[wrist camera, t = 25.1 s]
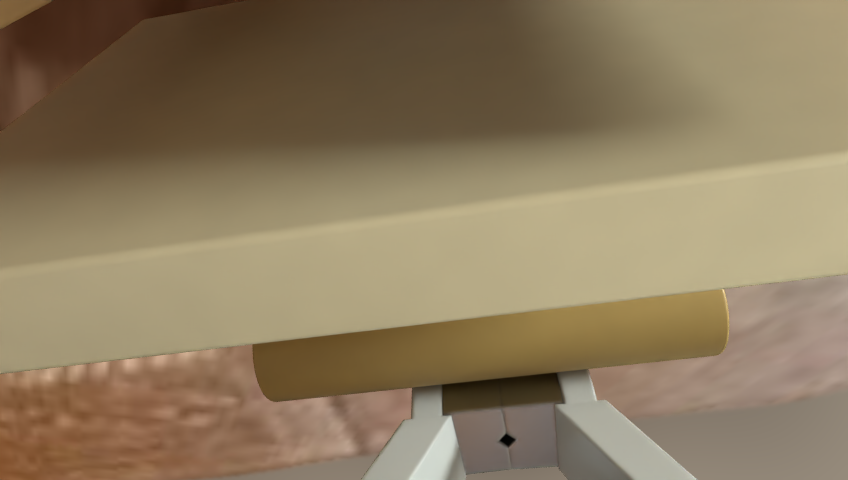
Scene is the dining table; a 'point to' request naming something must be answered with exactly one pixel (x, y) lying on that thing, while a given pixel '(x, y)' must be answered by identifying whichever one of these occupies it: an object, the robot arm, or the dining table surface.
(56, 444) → the dining table surface
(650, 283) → the drawer
